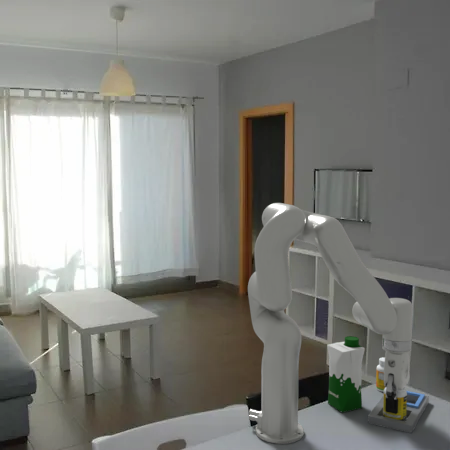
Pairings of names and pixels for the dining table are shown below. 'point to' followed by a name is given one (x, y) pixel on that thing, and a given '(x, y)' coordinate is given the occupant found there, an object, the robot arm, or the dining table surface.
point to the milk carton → (345, 374)
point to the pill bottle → (401, 405)
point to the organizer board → (412, 413)
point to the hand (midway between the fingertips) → (394, 407)
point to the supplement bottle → (380, 375)
